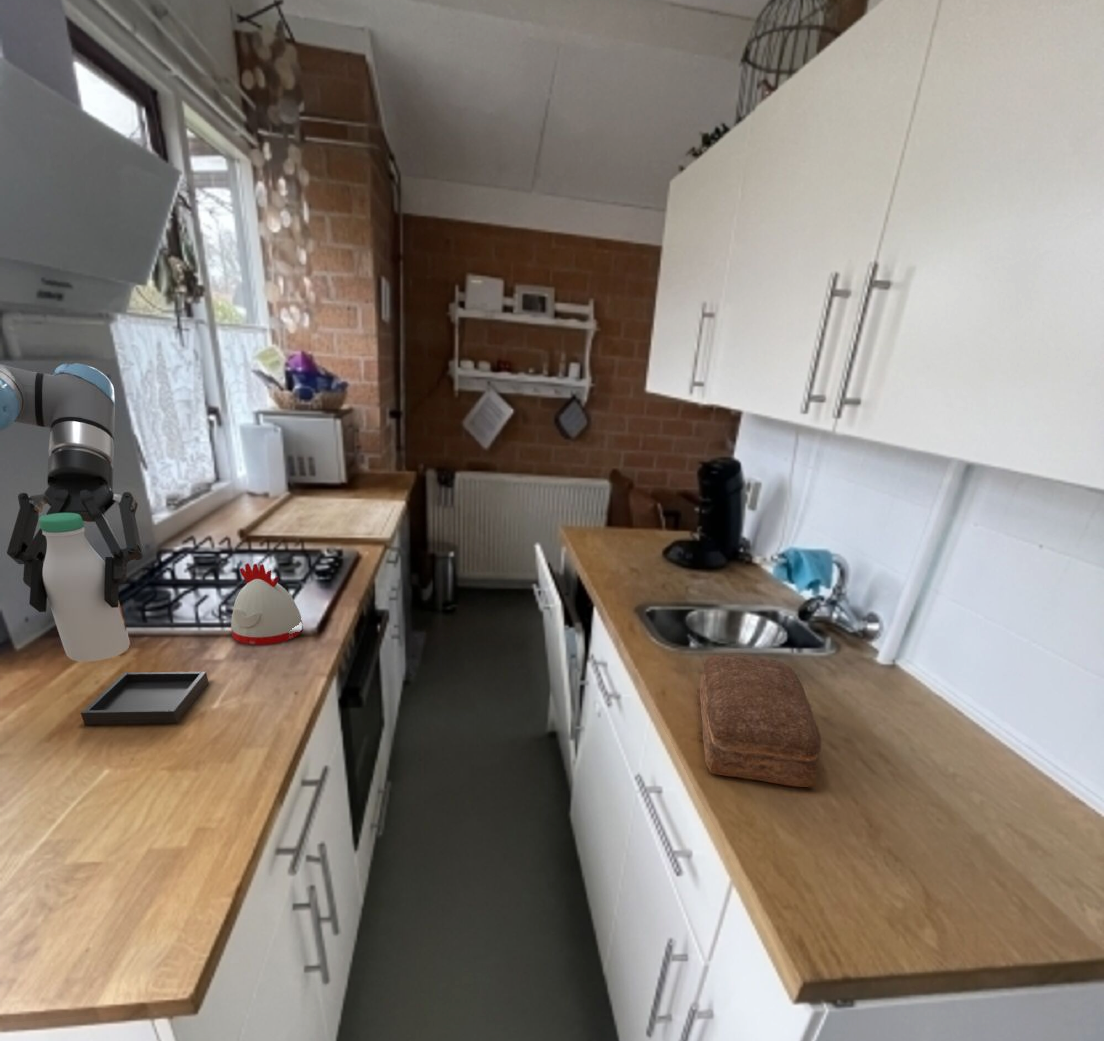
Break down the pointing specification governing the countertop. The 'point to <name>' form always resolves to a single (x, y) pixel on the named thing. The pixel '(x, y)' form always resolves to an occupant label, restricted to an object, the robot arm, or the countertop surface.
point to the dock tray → (146, 698)
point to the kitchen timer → (263, 610)
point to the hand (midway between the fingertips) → (75, 605)
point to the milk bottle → (79, 592)
